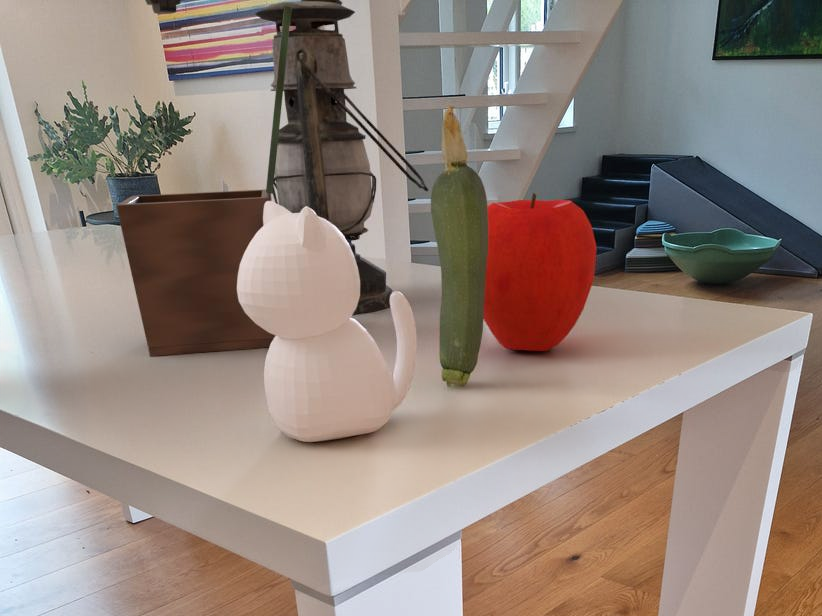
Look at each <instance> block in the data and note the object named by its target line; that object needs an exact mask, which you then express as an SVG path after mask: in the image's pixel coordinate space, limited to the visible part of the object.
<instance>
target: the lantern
mask: <svg viewBox="0 0 822 616" xmlns="http://www.w3.org/2000/svg"><path fill="white" fill-rule="evenodd" d="M285 5H286V6H289V7H291V8H292V9H291V19H290V27H295V28H294V29H291V30H289V38H288V48H287V58H286V68H285V77H284V87H283V95H284V106H285V112H286V118H287V119H286V120H287V124H286V125H284V126H282V127H281V128H279V136H278V146H277V156H276V166H275V175H274V185H273V194H272V196H273V199H274V203H276V204H278V205H281V206H283V207H284V208H286V209H287V210H288V211H290V212H291V213H300V212H301V210H302V209H303V208H304V207H306V206H307V207H309V208H311V209H312V210H313V211H314V212H315V213H316V215H317V216H319V217H321V218H324V219H326V220H327V221H328V222H330V223H331V224H333V225H334V226H335V227H336V228H337V229H338V230H339V231H340V232H341V233H342V234H343V236H344V237H345V239H346V240H347V242H348V244H349V245H350V248H351V250H352V252H353V254H354V257H355V260H356V264H357V267H358V272H359V278H360V297H359V301H358V304H357V307H356V309H355V311H354V313H353V314H352V315H359V314H366V313H372V312H377V311H381V310H385V309H388V308H390V295H391V294H392V292H394V291H393V289H392V288H391V287H389V285H387V272H386V271H385V270H384V269H382V268H381V267H379V266H377V265H376V264H374V263H372V262H371V261H370V260H368V259H366V258H365V257H362V256H361V254H359V253H357V251H356V245H355V244H354V243H353V241H357V240H360V238H361V236H362V235H363V234H365V233H368V232H369V228H366V227H365V222H367V220H369V218H370V217H371V215H372V210H373V207H374V203H375V197H376V193H377V177H376V175H374V173H373V172H372V171H371V164H370V160H369V157H368V153H367V150H366V146H365V143H364V140H366V138H367V137H366V135H367V136H368V137H369V138H370V139H371V140H372V141H373V142H374V143H375V144H376V145H377V146H378V147H379V148H380V150H382V152H383V153H384V154H385V155H386V156H387V157H388V158H389V159H390V160H391V161H392V162H393V164H395V166H396V167H397V168H398V169H399V170H400V171H401V173H403V174H404V175H405V176H406V177H407V179H409V180H410V181H411V182H412V183H414V184H415V185H416V186H417V187H418V188H419V189H423V191H425V192H428V191H429V188H428V187H427V185H426V184H425V181H424V179H423V178H422V176H421V175H420V173H419V172H418V171H417V170H416V169H415V168H414V167H413V166H412V165H411V163H409V161H408V160H407V159H406V158H405V157H404V156H403V155H402V154H401V153H400V151H398V149H396V147H395V146H393V144H392V143H391V142H390V141H389V140H388V139H387V138H386V136H384V135H383V134H382V133H381V131H380V130H379V129H378V128H377V127H376V126H375V125H374V124H373V122H371V121H370V119H368V118H367V116H366V115H364V113H363V112H362V111H361V110H360V109H359V108H358V107H357V105H356V104H355V103H354V102H353V100H351V99H350V98H349V97H348V95H347V94H346V93H345V90H353V89H355V90H356V89H357V86H355V84H356V82H355V80H354V79H352V76H351V72H350V66H349V59H348V58H349V57H348V52H347V46H346V40H345V38H344V37H343V36H344V35H343V33H340V30H339V22H338V21H342V20H345V19H350V18H351V17H352V16H353V15H354V14H355V13H356V11H354V10H352V9H350V8H348V7H346V6H344V5H343V1H341V0H300V1H284V2H276V3H271V4H269V5H268V6H265V7H264V8H262V9H259V10H258V11H257V12H256V13H254V15H255V16H257V17H258V18H259V19H261V20H264V21H268V22H272V23H275V28H276V29H275V30H276V34H274V35H273V39H272V42H271V43H272V57H273V58H272V60H273V81H272V82H271V84H270V87H272V88H271V89H270V91H271V92H276V84H277V74H278V64H279V54H280V44H281V33H282V31H281V27H282V23H283V14H284V6H285ZM332 25H334V30H332V29H331V30H330V29H321V28H320V27H325V26H332ZM319 28H320V29H319ZM346 102H347V103H348V104H349V105H350V106H351V107H352V108H353V109H354V111H355V112H356V113H357V114H358V115H359V116H360V118H362V119H363V121H365V122H366V123H367V125H368V126H369V127H370V128H371V129H372V130H373V131H374V132H375V133H376V135H378V137H380V139H381V140H382V141H383V142H384V143H385V144H386V145H387V147H389V148H390V150H391V151H393V152H394V153H395V154H396V156H397V157H398V158H399V159H400V160H401V161H402V162H403V164H405V165H406V167H408V168H409V170H410V171H411V172H412V173H413V174H414V175H415V176H416V177H417V179H418V180H419V181H420V182H418V181H417V180H416V179H415V178H414V177H412V176H411V175H410V174H409V173H408V171H407V170H406V168H404V167H403V166H402V165H401V164H400V163H399V161H397V159H396V158H395V157H394V156H393V155H392V154H391V153H390V152H389V151H388V150H387V149H386V147H385V146H384V145H383V144H382V143H381V142H380V141H379V139H377V138H376V136H375V135H374V134H373V133H371V132H370V130H369V129H368V128H367V127H366V126H365V125H364V123H362V121H361V120H359V118H358V117H357V116H356V115H355V114H354V113H353V112H352V111H351V110H350V109H349V107H347V105H346ZM347 114H348V115H349V116H350V117H351V119H352V120H353V121H355V123H356V124H357V125H358V126H359V127H360V128H361V129H362V130H363V131H364V133H366V135H365V134H363V133H362V132H360V131H359V127H358V126H356V125H354V124H352V123H350V122H348V121H347ZM275 189H276V191H275ZM276 192H277V194H276Z"/></svg>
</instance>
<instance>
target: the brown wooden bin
mask: <svg viewBox="0 0 822 616" xmlns="http://www.w3.org/2000/svg"><path fill="white" fill-rule="evenodd" d="M272 199H273V198H272V194H270V193H266V188H265V189H247V190H246V189H243V190H229V191H228V190H224V191H206V192H203V191H201V192H183V193H161V194H142V195H139V194H138V195H131V196H130V197H128V198H126V199H125V200H123V201H121V202H119V203H117V204H116V206H115V207H116V210H117V215H118V219H119V225H120V228H121V234H122V237H123V242H124V246H125V251H126V256H127V260H128V264H129V269H130V274H131V278H132V282H133V287H134V291H135V296H136V300H137V304H138V305H137V306H138V309H139V314H140V318H141V323H142V326H143V327H142V328H143V332H144V337H145V340H146V344H147V350H148V354H149V357H159V356H171V355H173V356H174V355H185V354H199V353H200V354H201V353H213V352H225V351H226V352H227V351H238V350H239V351H240V350H251V349H252V350H253V349H263V348H269V347H270V344H271V342H272V341H273V339H274V337H275V336H276V335H273V334H271V333H269V332H267V331H266V330H264V329H263V328H261V327H260V326H258V325H257V324H256V323H254V321H253V320H252V319H251V318H250V317H249V316H248V315H247V314H246V313H245V311H244V310H243V308H242V306H241V304H240V303H239V300H238V294H237V278H238V272H239V267H240V263H241V260H242V258H243V255H244V253H245V251H246V249H247V247H248V245H249V243H250V242H251V240H252V239H253V237H254V236H255V234H256V233H257V232H258V231H259V230H260V229H261V228H262V227H263V226H264V224H263V210H264V204H265V203H266V201H272V202H273V200H272Z"/></svg>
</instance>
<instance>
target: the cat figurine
mask: <svg viewBox="0 0 822 616" xmlns="http://www.w3.org/2000/svg"><path fill="white" fill-rule="evenodd" d="M278 204H279V203H278ZM278 204H276V203H275V201H273V200H272V201H266V203H265V204H264V210H263V224H264V226H263V227H262V228H261V229H260V230H259V231H258V232H257V233H256V234H255V236H254V237H253V239H252V240H251V242H250V243H249V245H248V247H247V249H246V251H245V253H244V255H243V258H242V260H241V263H240V267H239V272H238V278H237V294H238V300H239V303H240V304H241V306H242V308H243V310H244V311H245V313H246V314H247V315H248V316H249V317H250V318H251V319H252V320H253V321H254V323H256V324H257V325H258V326H260V327H261V328H263V329H264V330H266V331H267V332H269V333H271V334H273V335H276V336H275V337H274V339H273V341H272V342H271V344H270V347H268V350H267V352H266V356H265V360H264V361H265V362H264V366H263V367H264V368H263V385H264V386H263V387H264V394H265V402H266V407H267V409H268V412H269V415H270V417H271V419H272V421H273V423H274V425H275V427H276V428H277V429H278V430H280V431H281V432H282V433H283V434H284V435H286V436H287V437H289V438H291V439H294V440H296V441H299V442H305V443H306V442H307V443H313V442H324V441H331V440H338V439H344V438H350V437H355V436H360V435H365V434H370V433H374V432H376V431H378V430H379V429H380V428H382V427H383V426H384V425H385V424H386V423H387V422H388V421H389V420H390V417H391V416H392V413H393V412H394V411H395V410H396V409H397V408H398V407H399V406H400V405H401V404H402V403H403V401H404V400H405V398H406V396H407V395H408V392H409V390H410V388H411V384H412V381H413V377H414V372H415V367H416V359H417V351H418V350H417V341H418V340H417V327H416V321H415V316H414V313H413V310H412V307H411V305H410V303H409V300H408V299H407V298H406V297H405V295H404V294H403V293H402V292H400V291H398V290H395V291H393V292H392V294H391V295H390V307H389V308H390V312H391V317H392V321H393V325H394V330H395V335H396V337H395V338H396V356H395V365H394V369H393V374H392V373H391V370H390V368H389V365H388V363H387V361H386V359H385V357H384V356H383V353H382V352H381V350H380V348H379V347H378V345H377V343H376V341H375V340H374V338H373V337H372V335H371V334H370V333H369V331H368V330H367V329H366V328H365V327H364V326H363V325H361V324H360V322H359V321H357V320H356V319H355V318H352V316H353V315H354V314H353V313H354V311H355V309H356V307H357V304H358V301H359V297H360V278H359V272H358V267H357V264H356V260H355V257H354V254H353V252H352V250H351V248H350V245H349V244H348V242H347V240H346V239H345V237H344V236H343V234H342V233H341V232H340V231H339V230H338V229H337V228H336V227H335V226H334V225H333V224H331V223H330V222H328V221H327V220H326V219H324V218H321V217H319V216H317V215H316V213H315V212H314V211H313V210H312V209H311V208H309V207H307V206H306V207H304V208H303V209H302V210H301V212H300V213H291V212H290V211H288V210H287V209H286V208H284V207H283V206H281V205H278Z"/></svg>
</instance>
